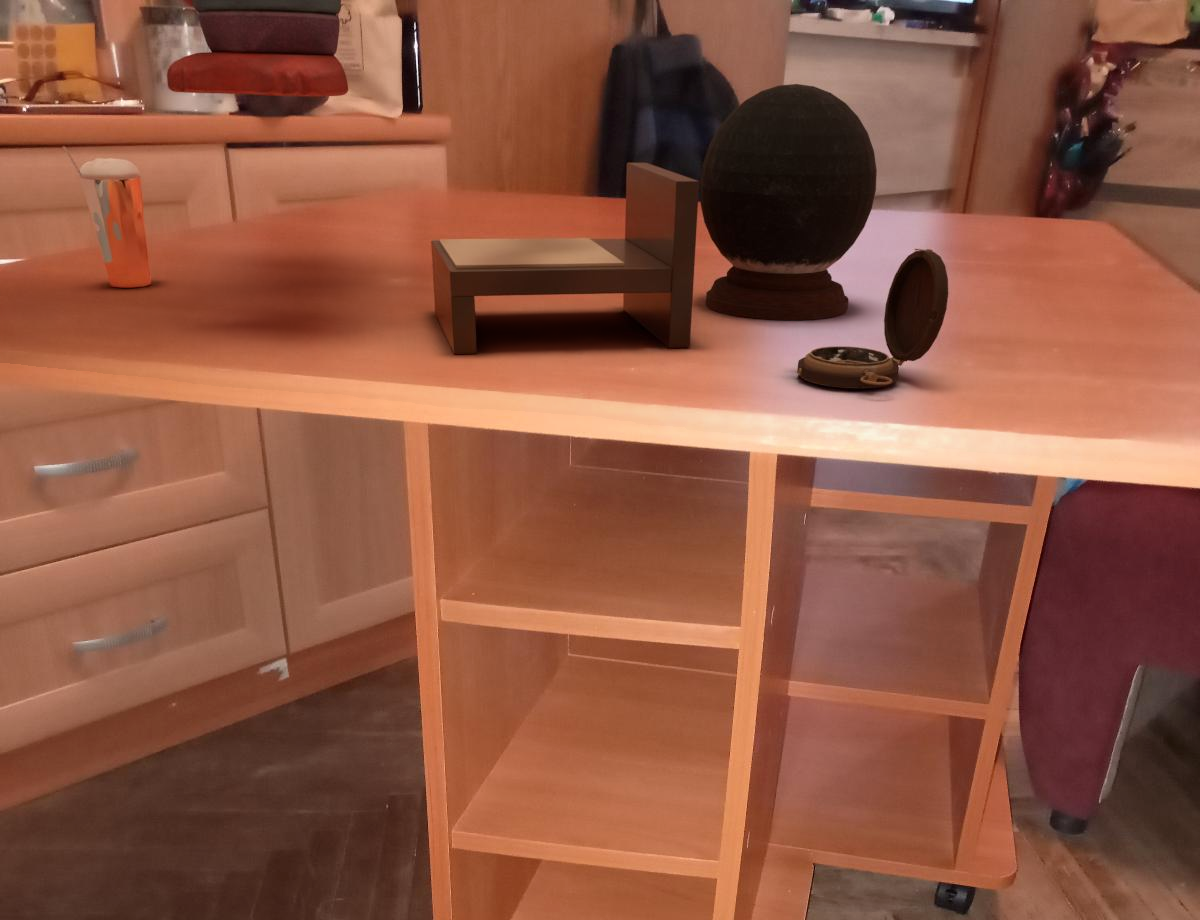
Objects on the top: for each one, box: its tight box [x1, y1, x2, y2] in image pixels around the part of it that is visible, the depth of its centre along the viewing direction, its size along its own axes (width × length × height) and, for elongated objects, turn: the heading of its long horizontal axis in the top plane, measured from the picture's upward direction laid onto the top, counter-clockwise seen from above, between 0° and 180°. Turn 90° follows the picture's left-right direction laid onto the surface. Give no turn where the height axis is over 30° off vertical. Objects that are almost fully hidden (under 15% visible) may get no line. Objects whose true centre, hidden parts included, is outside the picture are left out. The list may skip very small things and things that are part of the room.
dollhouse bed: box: [430, 162, 700, 355], centre depth 79 cm, size 16×14×10 cm
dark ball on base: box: [699, 83, 878, 321], centre depth 87 cm, size 13×13×15 cm
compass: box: [796, 248, 949, 390], centre depth 68 cm, size 8×8×7 cm
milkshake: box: [62, 145, 152, 289], centre depth 92 cm, size 4×5×10 cm
